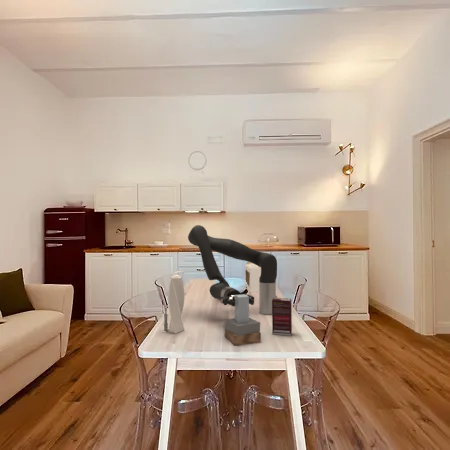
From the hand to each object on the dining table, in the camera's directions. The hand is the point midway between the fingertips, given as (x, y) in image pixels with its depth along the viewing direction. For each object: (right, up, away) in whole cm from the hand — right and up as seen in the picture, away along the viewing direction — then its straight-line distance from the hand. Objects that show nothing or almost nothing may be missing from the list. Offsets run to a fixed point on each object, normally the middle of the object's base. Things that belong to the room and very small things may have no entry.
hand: (243, 303), depth 145 cm
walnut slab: (-1, -17, +2) cm, 17 cm away
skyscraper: (-31, -16, +13) cm, 38 cm away
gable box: (+16, -16, +113) cm, 116 cm away
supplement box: (+18, -16, +9) cm, 26 cm away
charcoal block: (-1, -12, +2) cm, 12 cm away
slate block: (-1, -8, +2) cm, 8 cm away
